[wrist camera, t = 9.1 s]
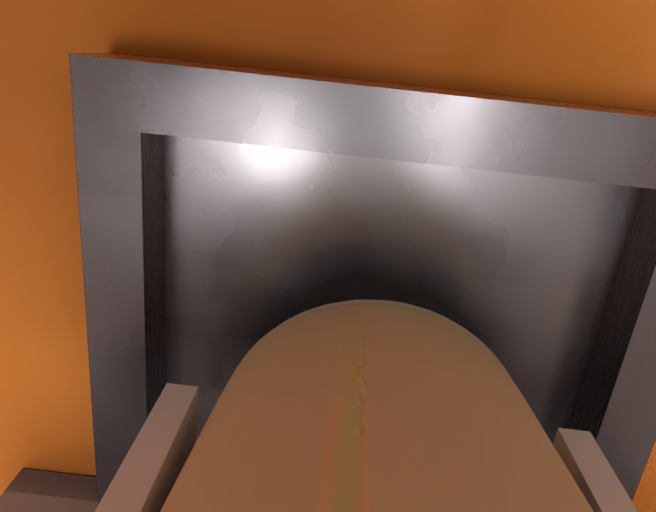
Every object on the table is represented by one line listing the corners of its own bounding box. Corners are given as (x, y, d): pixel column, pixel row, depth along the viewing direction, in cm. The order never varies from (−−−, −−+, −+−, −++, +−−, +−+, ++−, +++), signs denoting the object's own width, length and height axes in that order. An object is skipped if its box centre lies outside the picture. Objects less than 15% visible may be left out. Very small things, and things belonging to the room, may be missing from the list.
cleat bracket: (108, 52, 14) (69, 53, 12) (717, 118, 13) (775, 130, 12) (126, 480, 18) (99, 529, 17) (573, 532, 18) (597, 587, 16)
